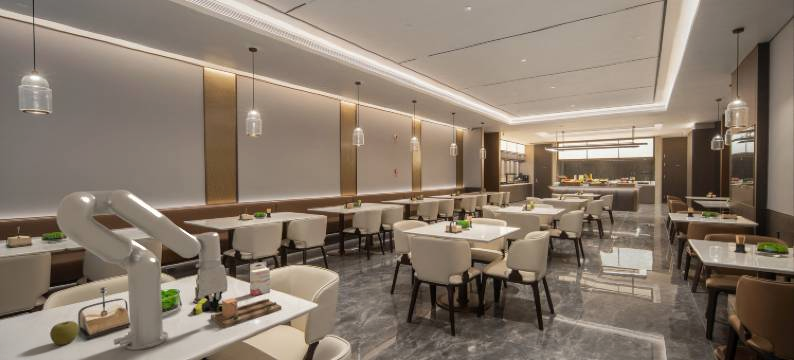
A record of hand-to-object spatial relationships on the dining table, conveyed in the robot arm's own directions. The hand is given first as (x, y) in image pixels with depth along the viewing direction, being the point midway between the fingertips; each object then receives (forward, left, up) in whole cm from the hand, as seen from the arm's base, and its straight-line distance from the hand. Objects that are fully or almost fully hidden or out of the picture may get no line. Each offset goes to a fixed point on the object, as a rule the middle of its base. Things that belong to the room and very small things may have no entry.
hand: (214, 309), depth 144 cm
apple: (-42, +26, -6) cm, 50 cm away
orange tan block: (+6, -2, -4) cm, 8 cm away
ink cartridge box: (+30, +22, -6) cm, 37 cm away
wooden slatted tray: (+13, 0, -6) cm, 14 cm away
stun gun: (+8, +21, -7) cm, 24 cm away
